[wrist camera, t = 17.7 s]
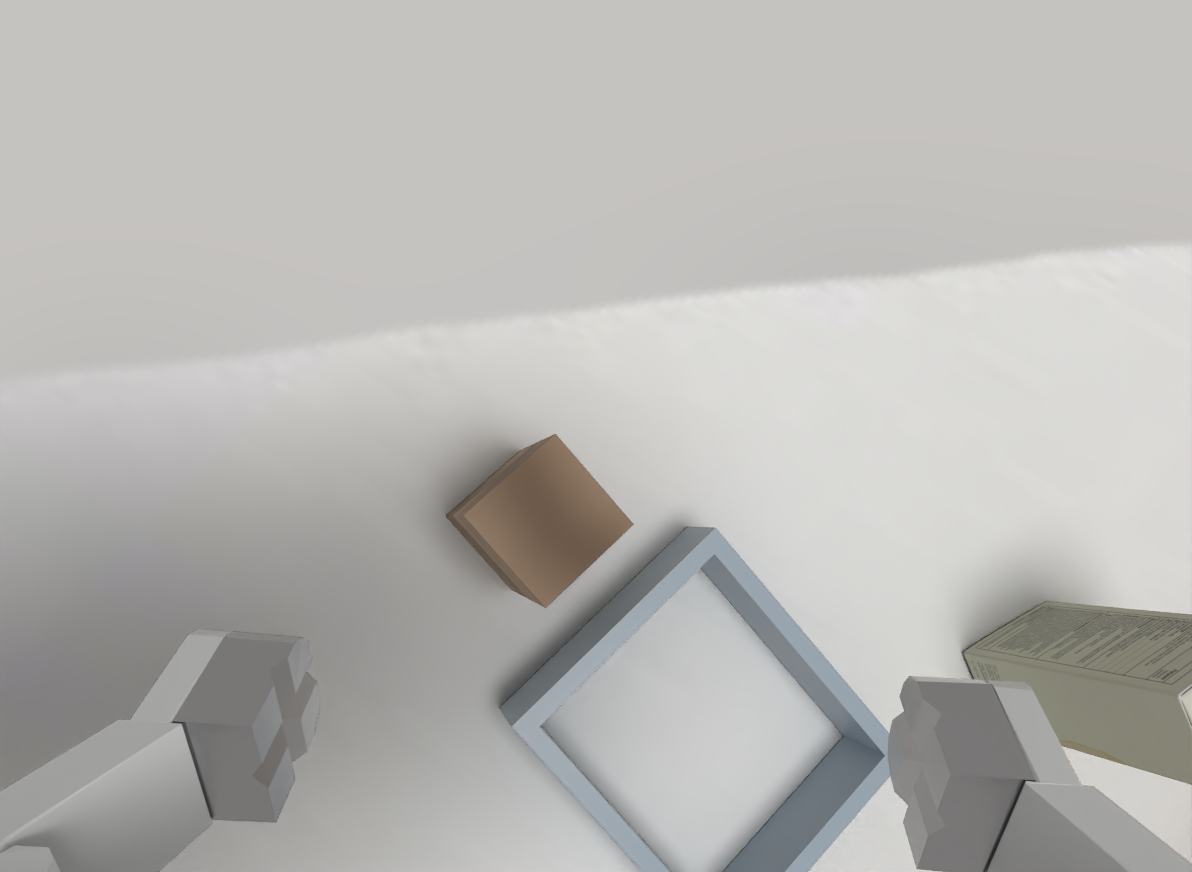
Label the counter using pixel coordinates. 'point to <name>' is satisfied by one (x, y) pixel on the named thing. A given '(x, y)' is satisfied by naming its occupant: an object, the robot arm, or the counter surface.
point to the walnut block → (540, 520)
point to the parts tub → (860, 758)
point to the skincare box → (1103, 680)
